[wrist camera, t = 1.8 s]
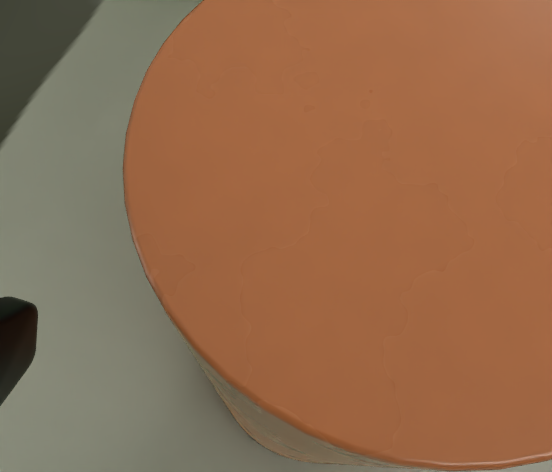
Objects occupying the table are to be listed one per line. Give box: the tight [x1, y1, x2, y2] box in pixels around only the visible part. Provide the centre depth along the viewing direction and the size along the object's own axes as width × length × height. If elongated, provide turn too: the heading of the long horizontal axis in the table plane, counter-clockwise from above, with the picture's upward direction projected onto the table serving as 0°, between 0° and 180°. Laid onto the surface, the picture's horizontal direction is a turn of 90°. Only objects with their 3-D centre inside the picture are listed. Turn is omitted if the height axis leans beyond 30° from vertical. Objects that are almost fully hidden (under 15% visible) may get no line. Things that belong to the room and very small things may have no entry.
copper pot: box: [123, 0, 552, 471], centre depth 12 cm, size 10×7×13 cm
